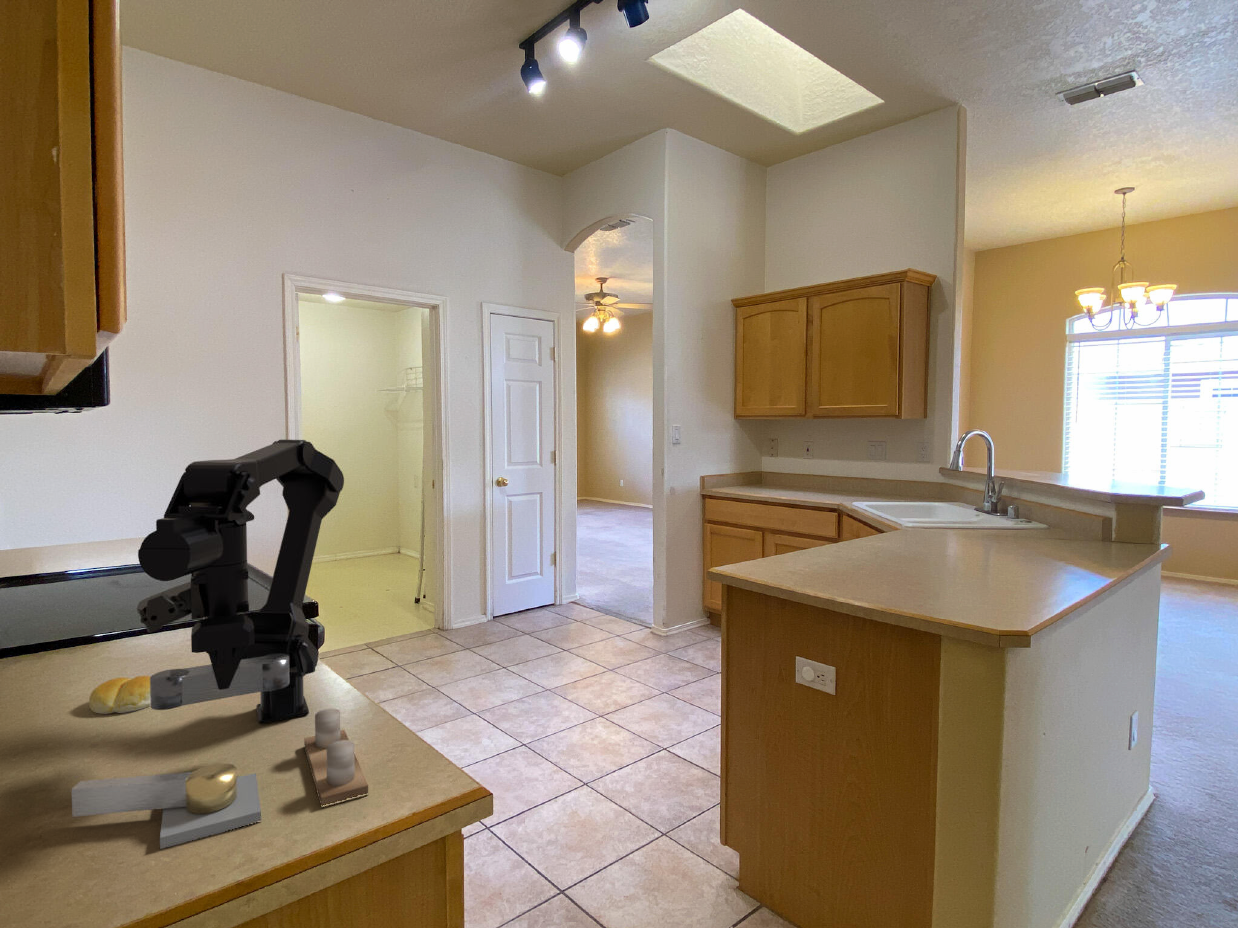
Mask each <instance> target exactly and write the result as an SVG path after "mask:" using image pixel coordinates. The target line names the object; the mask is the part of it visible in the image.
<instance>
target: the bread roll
mask: <svg viewBox="0 0 1238 928" xmlns="http://www.w3.org/2000/svg"><path fill="white" fill-rule="evenodd" d="M150 677H151V676H147V675H140V676H139V675H138V676H136V677H133V678H128V677H116V678H113V679H112V678H111V679H109V680H107V681H105V682H103V683H101V684H99V685H98V686H97V687H95V688H94V689H93V690H92V691H91V693H90V696H89V699H88V703H89V708H90V710H91V711H92V712H94V713H96V714H101V715H103V714H105V715H110V714H114V713H118V714H127V713H131V712H135V711H140V710H142V709H145V708H148V707H151V698H150Z"/></svg>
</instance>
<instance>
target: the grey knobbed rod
mask: <svg viewBox="0 0 1238 928" xmlns="http://www.w3.org/2000/svg"><path fill="white" fill-rule="evenodd" d="M149 677H150V698H151V705H150V708H151V709H152V710H155V711H163V710H164V711H165V710H173V709H176V708H180V707H184V706H188V705H193V704H199V703H204V702H206V703H207V702H210V701H216V700H222V699H228V698H232V697H238V696H240V697H241V696H243V695H244V696H245V695H250V694H256V693H260V692H262V691H274V690H279V689H282V688H284V687H286V686H288V685H289V656H288V655H286V654H270V655H265V656H262V657H256V658H250V659H243V660H241V661H240V663H239V666H238V668H237V670H236V673H235V675H234V677H233V680H232V682H231V684H230V687H229V688H228V689H223V690H219V689H218V685H217V682H216V678H215V675H214V671H213V667H212V664H211V663H210V664H204V665H200V666H199V665H197V666H191V667H184V668H171V669H166V670H163V671H159V672H155V673H154V674H152V675H150V676H149Z"/></svg>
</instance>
